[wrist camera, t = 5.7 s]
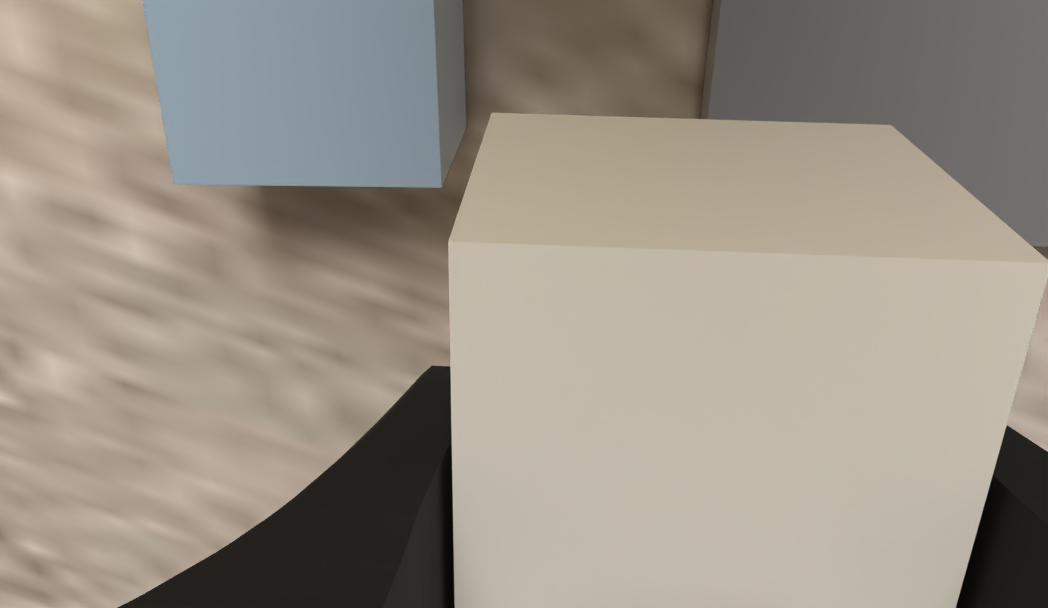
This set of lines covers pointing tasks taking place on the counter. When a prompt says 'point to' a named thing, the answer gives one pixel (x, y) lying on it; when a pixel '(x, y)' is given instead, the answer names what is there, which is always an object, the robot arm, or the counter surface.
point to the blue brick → (309, 90)
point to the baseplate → (901, 83)
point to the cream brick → (725, 365)
